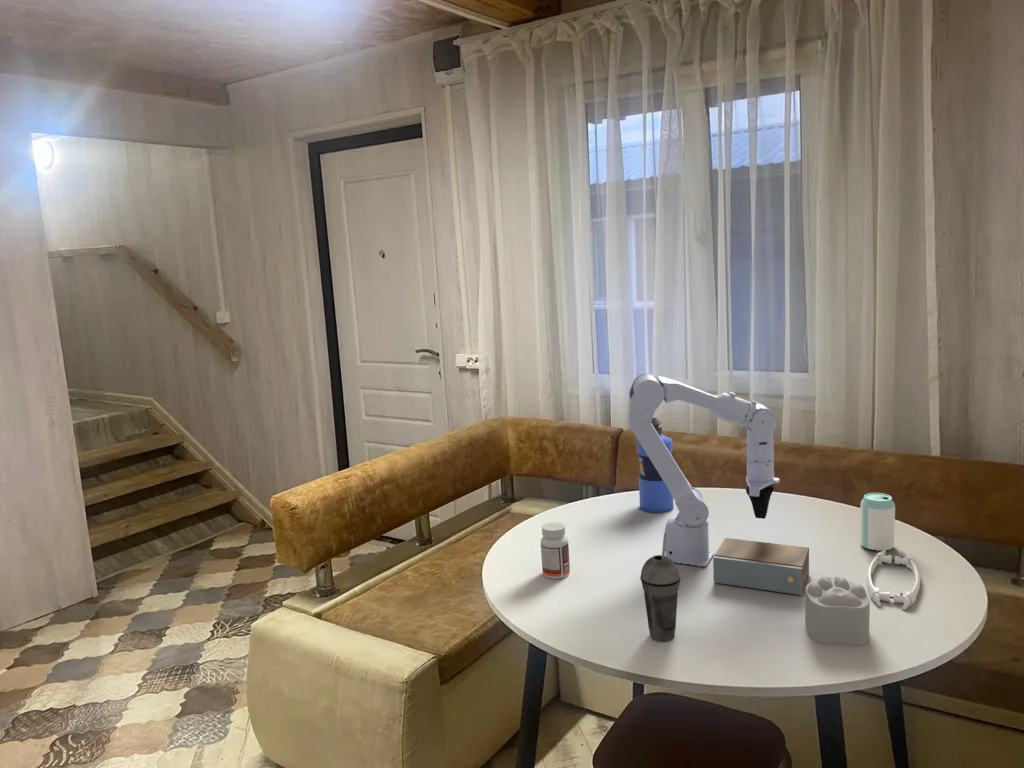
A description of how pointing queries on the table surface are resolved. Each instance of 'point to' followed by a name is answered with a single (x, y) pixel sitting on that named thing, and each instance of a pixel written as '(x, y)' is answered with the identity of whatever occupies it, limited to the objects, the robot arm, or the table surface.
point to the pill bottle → (554, 551)
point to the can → (877, 522)
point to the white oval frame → (899, 598)
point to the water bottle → (653, 479)
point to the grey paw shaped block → (837, 612)
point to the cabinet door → (758, 575)
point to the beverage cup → (661, 595)
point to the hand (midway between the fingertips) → (760, 517)
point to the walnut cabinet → (766, 554)
